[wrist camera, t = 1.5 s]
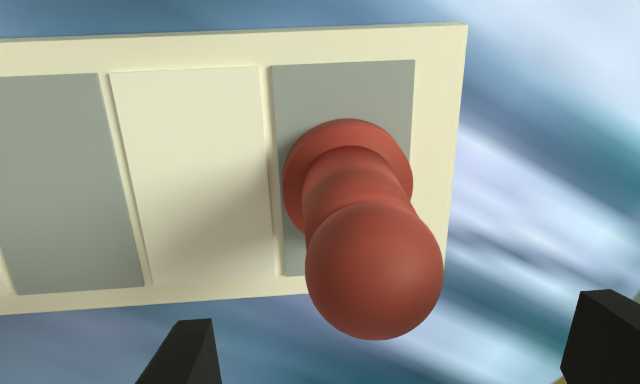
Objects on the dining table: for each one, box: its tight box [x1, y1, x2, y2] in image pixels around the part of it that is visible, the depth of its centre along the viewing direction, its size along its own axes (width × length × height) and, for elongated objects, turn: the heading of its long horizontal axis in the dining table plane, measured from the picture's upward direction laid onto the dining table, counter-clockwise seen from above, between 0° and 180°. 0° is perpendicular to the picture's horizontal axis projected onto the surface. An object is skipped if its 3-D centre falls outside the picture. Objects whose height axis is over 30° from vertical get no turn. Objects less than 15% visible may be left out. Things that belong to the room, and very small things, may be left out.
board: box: [0, 22, 468, 315], centre depth 17 cm, size 10×28×1 cm, turn 91°
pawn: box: [282, 118, 444, 340], centre depth 14 cm, size 4×4×7 cm
